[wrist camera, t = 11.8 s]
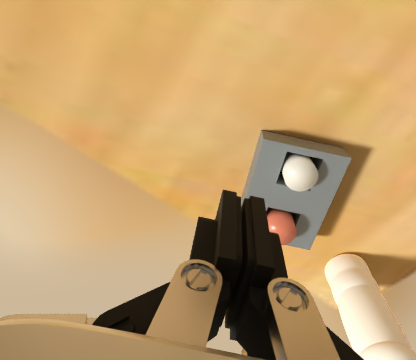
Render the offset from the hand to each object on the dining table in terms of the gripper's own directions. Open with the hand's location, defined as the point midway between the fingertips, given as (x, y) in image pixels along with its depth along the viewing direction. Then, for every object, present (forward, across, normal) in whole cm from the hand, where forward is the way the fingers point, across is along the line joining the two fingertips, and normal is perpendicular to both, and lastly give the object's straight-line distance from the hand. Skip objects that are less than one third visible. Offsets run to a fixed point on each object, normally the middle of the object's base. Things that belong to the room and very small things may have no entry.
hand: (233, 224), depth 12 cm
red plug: (+30, -11, +17) cm, 37 cm away
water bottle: (+32, -26, +26) cm, 49 cm away
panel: (+32, -11, +13) cm, 36 cm away
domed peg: (+31, -11, +8) cm, 34 cm away
